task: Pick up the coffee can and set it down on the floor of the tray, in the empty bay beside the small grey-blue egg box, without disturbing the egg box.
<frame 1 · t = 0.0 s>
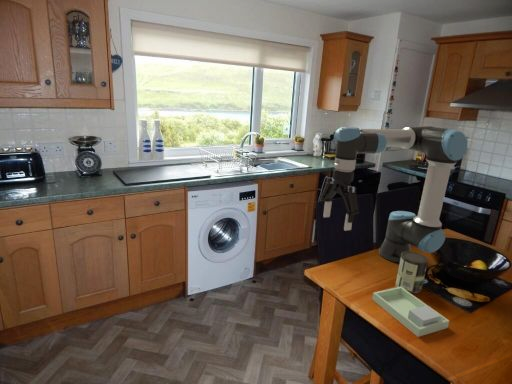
hand: (336, 223, 131), 28 cm above the table, fingers open, 13 cm apart
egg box: (422, 323, 118), point 1 cm above the table, touching tray
coffee can: (408, 287, 142), on the table
tray: (407, 314, 124), on the table
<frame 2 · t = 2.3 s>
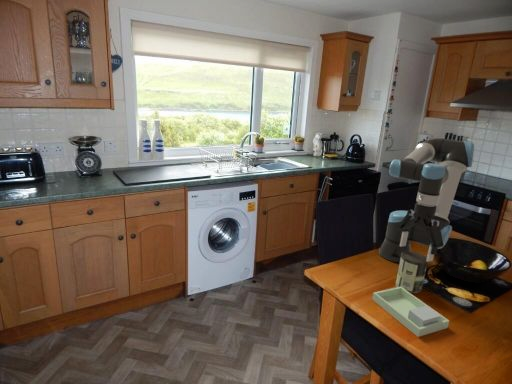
hand: (415, 253, 138), 16 cm above the table, fingers open, 13 cm apart
nothing on the table moved.
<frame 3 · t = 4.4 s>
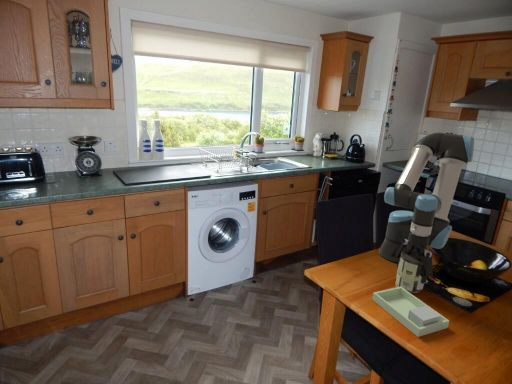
hand: (409, 282, 142), 2 cm above the table, fingers closed on coffee can, 10 cm apart
coffee can: (407, 287, 142), on the table, touching gripper
everything else where it was.
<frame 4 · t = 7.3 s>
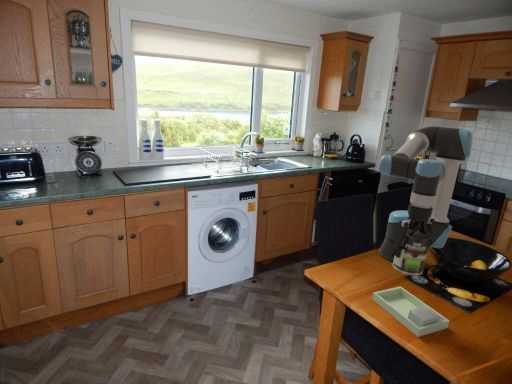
hand: (408, 262, 122), 19 cm above the table, fingers closed on coffee can, 10 cm apart
coffee can: (407, 268, 123), point 17 cm above the table, touching gripper
everything else where it was.
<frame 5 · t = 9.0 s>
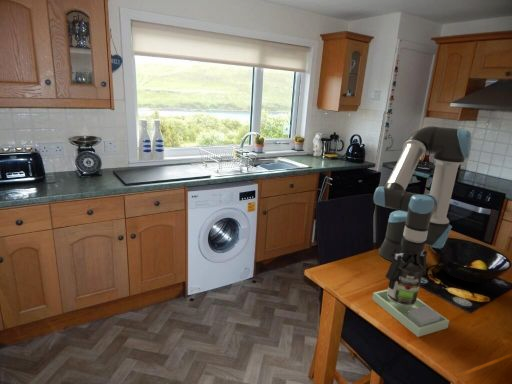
hand: (402, 293, 126), 6 cm above the table, fingers closed on coffee can, 10 cm apart
coffee can: (401, 298, 127), point 4 cm above the table, touching gripper
everything else where it was.
when the fingers open (5 cm above the table, at t = 10.2 s): coffee can drops 2 cm, resting on tray.
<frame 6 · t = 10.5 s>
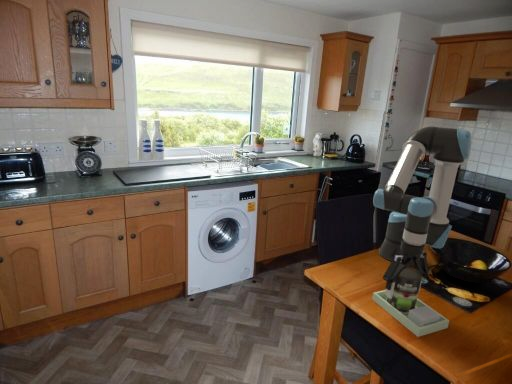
hand: (402, 293, 126), 6 cm above the table, fingers open, 13 cm apart
coffee can: (399, 306, 128), resting on tray
everything else where it was.
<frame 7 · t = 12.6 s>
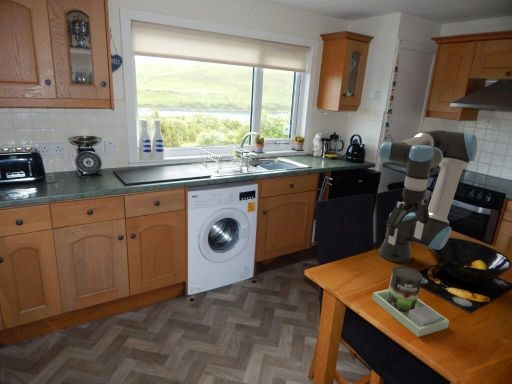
hand: (404, 240, 130), 23 cm above the table, fingers open, 13 cm apart
nothing on the table moved.
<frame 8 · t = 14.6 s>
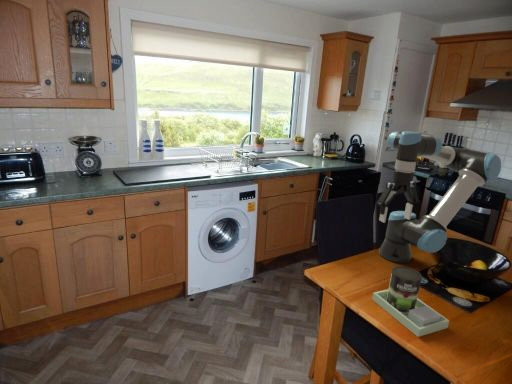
hand: (394, 220, 142), 27 cm above the table, fingers open, 13 cm apart
nothing on the table moved.
at the end: coffee can inside the target area on the tray (0.4 cm from its centre), point 0.4 cm above the tray's base; coffee can tilted 1°; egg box moved 0.0 cm from its start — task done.
